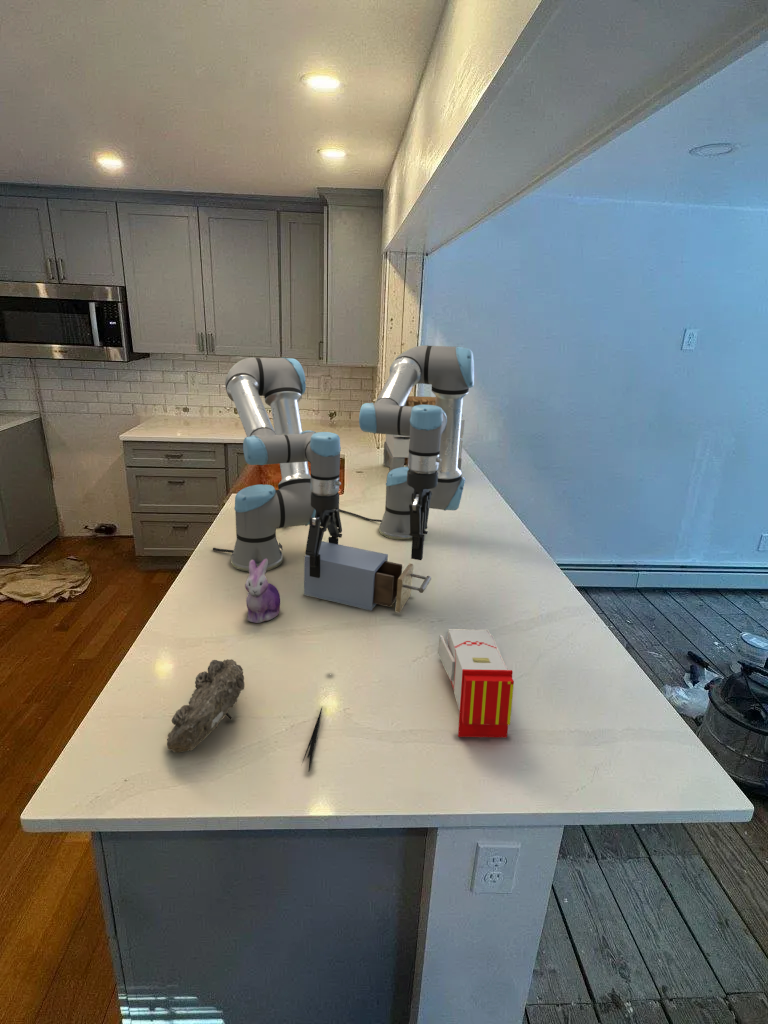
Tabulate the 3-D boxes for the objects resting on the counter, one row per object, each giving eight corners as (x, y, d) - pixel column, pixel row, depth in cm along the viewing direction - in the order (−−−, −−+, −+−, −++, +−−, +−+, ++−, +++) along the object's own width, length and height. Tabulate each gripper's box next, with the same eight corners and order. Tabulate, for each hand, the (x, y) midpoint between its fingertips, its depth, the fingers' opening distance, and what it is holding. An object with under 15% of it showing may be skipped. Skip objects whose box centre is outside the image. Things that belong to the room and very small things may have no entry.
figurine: (250, 628, 138) (248, 572, 133) (239, 608, 146) (237, 555, 141) (287, 620, 142) (286, 565, 137) (275, 601, 150) (274, 550, 145)
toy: (488, 613, 130) (523, 677, 101) (484, 667, 133) (517, 744, 104) (435, 612, 130) (455, 676, 101) (432, 666, 133) (451, 743, 103)
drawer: (429, 599, 154) (433, 568, 151) (420, 617, 145) (423, 584, 142) (348, 581, 161) (350, 550, 158) (334, 597, 152) (335, 565, 148)
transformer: (382, 463, 289) (386, 382, 275) (445, 464, 293) (451, 384, 279) (390, 482, 257) (394, 392, 243) (460, 483, 261) (468, 394, 247)
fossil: (192, 660, 117) (244, 628, 112) (224, 691, 120) (276, 661, 115) (142, 746, 98) (202, 712, 93) (182, 779, 101) (242, 748, 96)
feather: (331, 679, 122) (336, 673, 122) (307, 777, 96) (313, 769, 95) (324, 675, 122) (329, 669, 121) (298, 772, 95) (304, 764, 95)
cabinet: (385, 591, 159) (388, 554, 155) (371, 610, 149) (374, 571, 144) (321, 577, 164) (322, 540, 160) (303, 594, 154) (304, 556, 150)
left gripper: (318, 508, 137) (318, 588, 144) (355, 482, 158) (353, 553, 165) (290, 503, 139) (291, 583, 146) (330, 478, 160) (329, 549, 168)
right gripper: (431, 478, 131) (424, 571, 139) (444, 465, 143) (437, 551, 151) (400, 474, 133) (395, 565, 141) (415, 462, 145) (409, 546, 153)
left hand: (324, 567), depth 156 cm, fingers closed on cabinet, 11 cm apart
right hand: (416, 558), depth 146 cm, fingers closed
